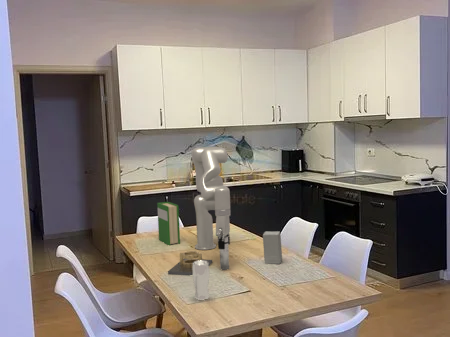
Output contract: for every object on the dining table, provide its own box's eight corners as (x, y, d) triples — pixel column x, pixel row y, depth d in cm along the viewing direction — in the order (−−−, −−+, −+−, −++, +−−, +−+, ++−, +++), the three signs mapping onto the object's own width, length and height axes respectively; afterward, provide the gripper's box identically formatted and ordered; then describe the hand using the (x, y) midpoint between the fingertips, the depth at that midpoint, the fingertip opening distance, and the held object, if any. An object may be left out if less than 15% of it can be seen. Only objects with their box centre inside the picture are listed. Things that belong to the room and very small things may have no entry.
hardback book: (180, 243, 278) (178, 205, 276) (168, 245, 275) (167, 206, 273) (169, 238, 294) (168, 201, 292) (159, 239, 290) (157, 202, 288)
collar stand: (183, 261, 240) (183, 247, 240) (212, 262, 236) (212, 248, 235) (168, 274, 219) (167, 259, 218) (199, 276, 215) (198, 260, 214)
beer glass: (193, 295, 190) (191, 260, 188) (209, 294, 190) (208, 259, 189) (193, 301, 183) (192, 265, 181) (210, 300, 183) (209, 264, 182)
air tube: (221, 267, 228) (220, 235, 227) (230, 267, 227) (229, 236, 225) (219, 269, 223) (217, 238, 222) (228, 270, 222) (226, 238, 221)
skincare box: (282, 261, 235) (281, 231, 233) (279, 265, 228) (278, 234, 227) (266, 260, 238) (265, 230, 236) (263, 263, 231) (262, 233, 230)
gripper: (220, 209, 232) (221, 242, 233) (210, 215, 215) (211, 250, 216) (234, 209, 230) (235, 242, 231) (225, 215, 213) (227, 251, 214)
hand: (224, 246), depth 224 cm, fingers open, 9 cm apart
